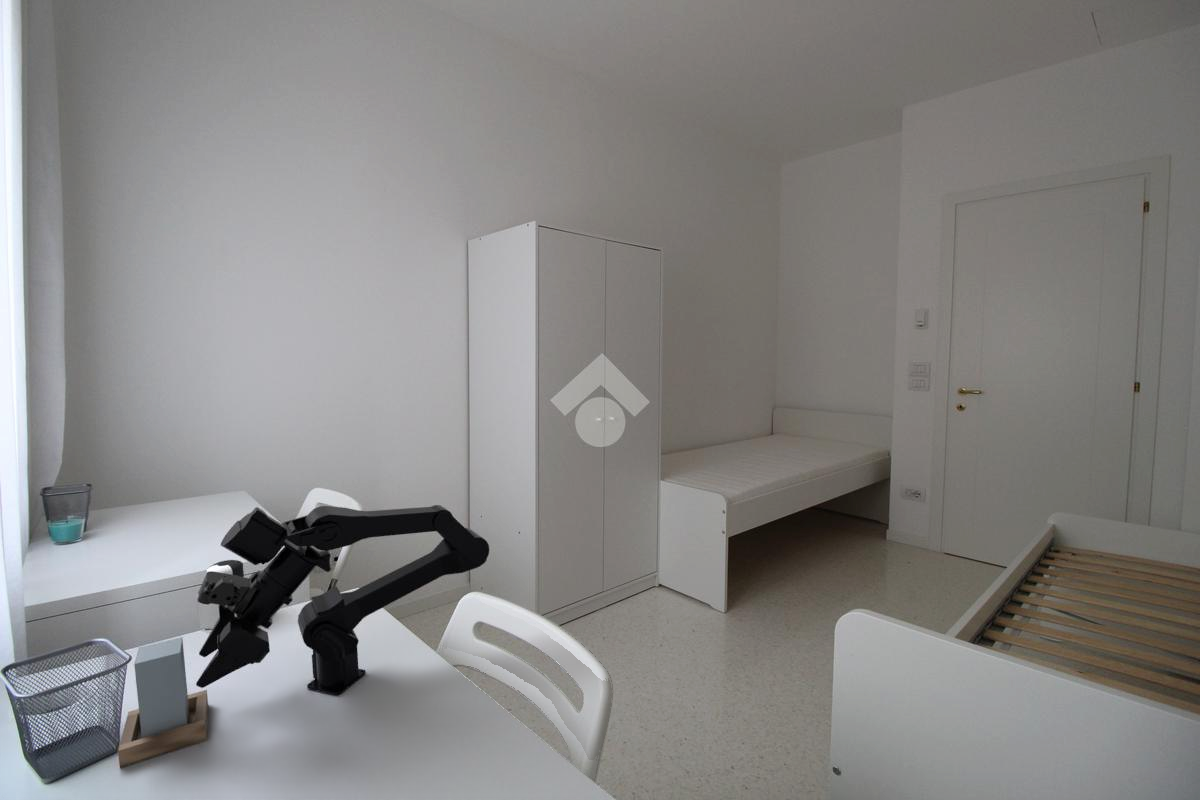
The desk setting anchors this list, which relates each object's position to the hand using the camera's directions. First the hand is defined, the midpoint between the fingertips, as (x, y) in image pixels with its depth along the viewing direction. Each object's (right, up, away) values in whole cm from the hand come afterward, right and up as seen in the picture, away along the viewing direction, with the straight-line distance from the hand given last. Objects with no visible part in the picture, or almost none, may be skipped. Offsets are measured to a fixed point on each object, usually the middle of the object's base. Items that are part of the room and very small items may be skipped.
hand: (200, 670), depth 83 cm
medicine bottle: (-16, -5, +31) cm, 36 cm away
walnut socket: (-4, -8, -1) cm, 9 cm away
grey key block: (-4, -8, -2) cm, 9 cm away
